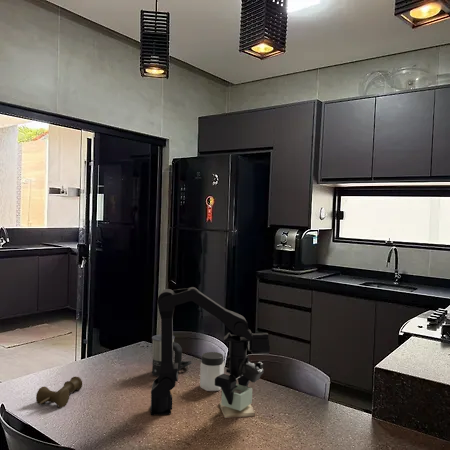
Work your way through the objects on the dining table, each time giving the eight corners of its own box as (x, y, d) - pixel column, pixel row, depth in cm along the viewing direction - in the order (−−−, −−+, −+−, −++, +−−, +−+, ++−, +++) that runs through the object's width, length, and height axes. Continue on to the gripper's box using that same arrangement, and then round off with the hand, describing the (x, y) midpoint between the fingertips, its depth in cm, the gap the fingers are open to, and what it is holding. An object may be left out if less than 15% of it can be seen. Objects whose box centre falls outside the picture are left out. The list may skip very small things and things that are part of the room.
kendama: (88, 392, 156) (52, 415, 137) (65, 389, 159) (27, 411, 140) (88, 375, 156) (52, 396, 137) (66, 373, 159) (27, 392, 140)
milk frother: (147, 375, 172) (147, 338, 172) (164, 362, 187) (165, 329, 187) (179, 380, 168) (180, 342, 167) (194, 367, 183) (195, 332, 182)
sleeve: (221, 404, 142) (221, 389, 142) (233, 397, 148) (233, 383, 148) (240, 411, 138) (240, 395, 138) (251, 402, 144) (252, 388, 144)
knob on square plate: (224, 417, 138) (225, 399, 137) (219, 404, 147) (219, 386, 147) (255, 415, 139) (255, 397, 139) (247, 402, 149) (247, 385, 149)
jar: (227, 388, 161) (228, 356, 161) (210, 393, 156) (211, 360, 156) (213, 380, 168) (213, 350, 168) (196, 385, 163) (196, 354, 163)
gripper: (244, 366, 131) (242, 417, 131) (272, 351, 146) (271, 396, 147) (214, 359, 137) (213, 407, 137) (244, 345, 152) (243, 389, 153)
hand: (236, 400), depth 143 cm, fingers open, 7 cm apart
